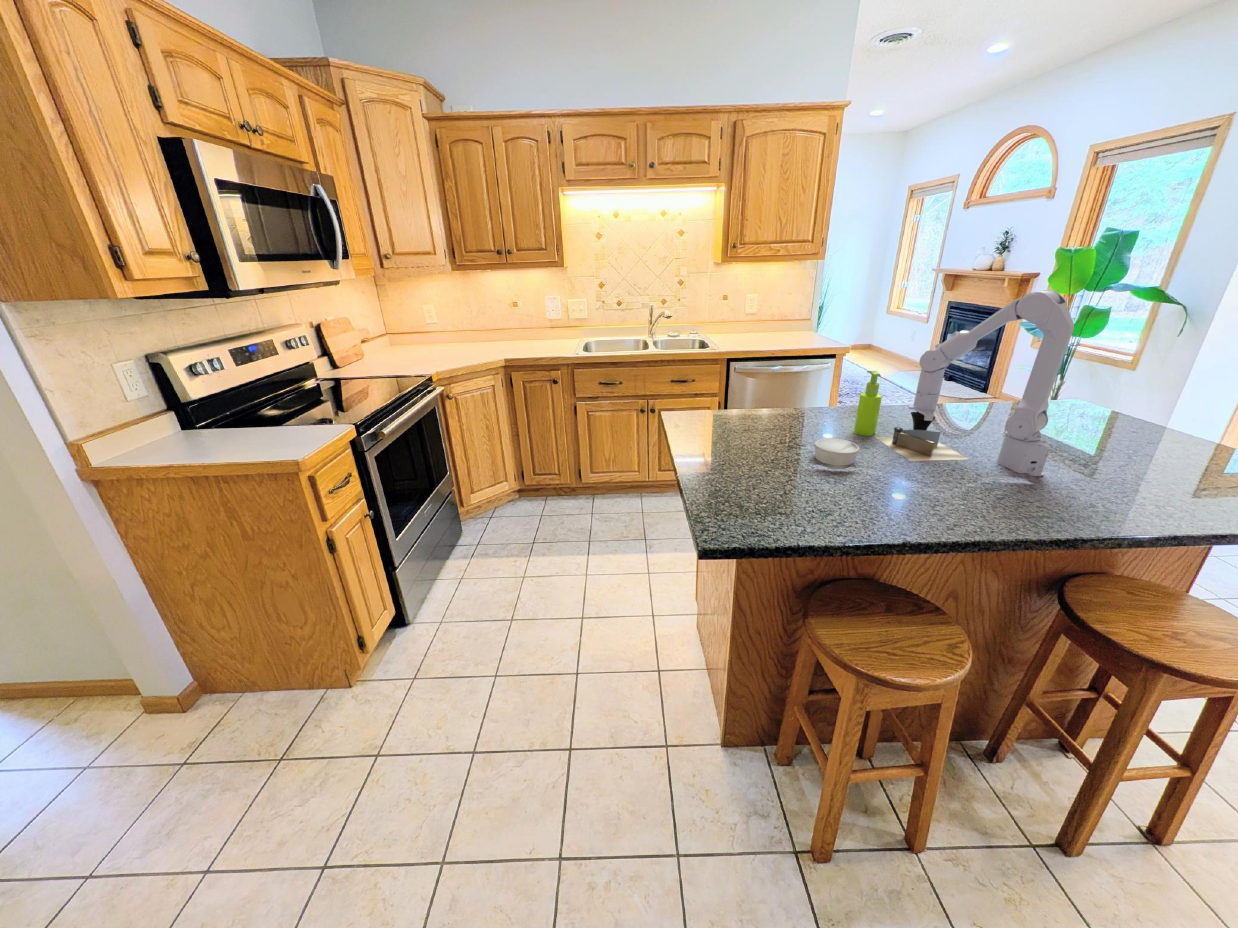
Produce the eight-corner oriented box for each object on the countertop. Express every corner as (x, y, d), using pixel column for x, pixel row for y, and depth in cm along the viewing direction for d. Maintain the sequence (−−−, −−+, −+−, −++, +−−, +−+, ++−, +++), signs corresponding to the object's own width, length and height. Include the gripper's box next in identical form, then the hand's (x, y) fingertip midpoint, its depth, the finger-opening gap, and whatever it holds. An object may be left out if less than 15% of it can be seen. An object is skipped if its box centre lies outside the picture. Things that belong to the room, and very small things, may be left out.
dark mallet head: (888, 443, 145) (892, 428, 143) (894, 441, 146) (897, 426, 144) (929, 456, 135) (933, 440, 133) (935, 455, 136) (939, 439, 134)
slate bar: (899, 442, 145) (902, 429, 143) (898, 441, 146) (901, 429, 144) (937, 444, 143) (940, 431, 141) (936, 443, 143) (939, 430, 142)
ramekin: (860, 472, 130) (864, 453, 128) (815, 469, 132) (818, 451, 130) (851, 456, 140) (854, 438, 138) (809, 454, 142) (811, 437, 140)
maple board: (968, 463, 133) (969, 459, 133) (909, 464, 133) (910, 460, 133) (926, 439, 151) (927, 435, 150) (874, 440, 151) (874, 437, 150)
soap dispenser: (868, 431, 158) (880, 369, 150) (877, 439, 152) (889, 374, 144) (849, 431, 159) (860, 369, 151) (857, 439, 152) (868, 374, 145)
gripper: (907, 385, 149) (898, 428, 154) (917, 397, 136) (907, 444, 142) (934, 386, 147) (924, 430, 152) (946, 399, 134) (935, 446, 139)
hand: (917, 437), depth 147 cm, fingers closed
